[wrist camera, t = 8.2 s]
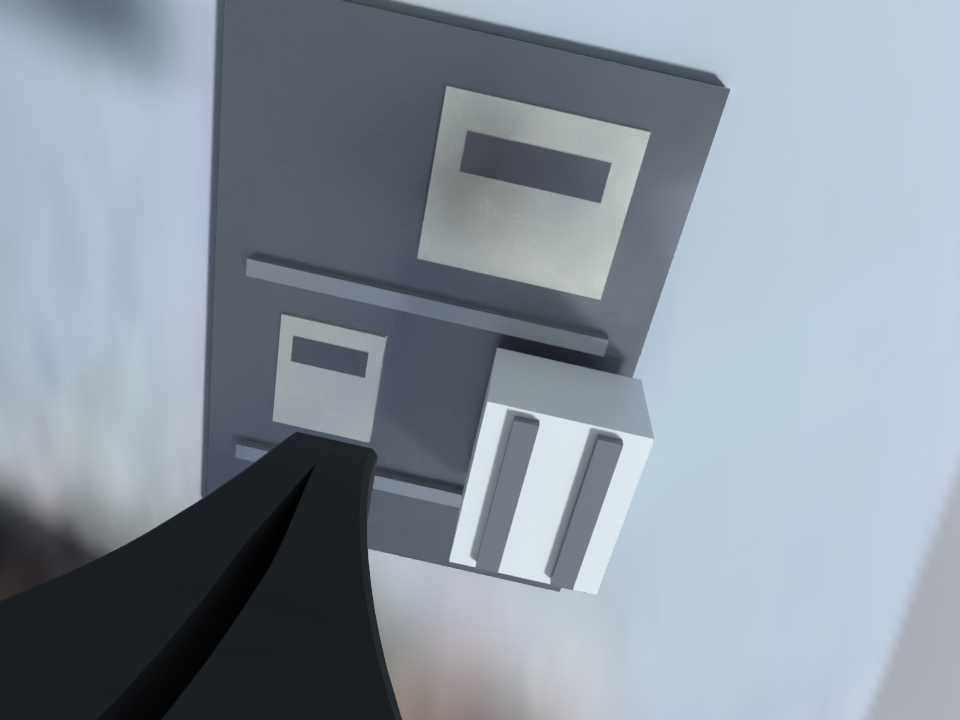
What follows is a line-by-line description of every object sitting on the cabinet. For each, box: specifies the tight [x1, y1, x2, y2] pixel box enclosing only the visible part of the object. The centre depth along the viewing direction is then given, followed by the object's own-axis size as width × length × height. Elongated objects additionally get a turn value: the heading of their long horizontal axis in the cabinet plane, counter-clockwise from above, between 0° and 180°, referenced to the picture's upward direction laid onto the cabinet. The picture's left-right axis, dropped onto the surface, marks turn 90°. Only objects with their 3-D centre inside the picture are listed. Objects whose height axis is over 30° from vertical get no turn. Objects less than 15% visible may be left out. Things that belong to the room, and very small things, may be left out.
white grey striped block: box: [449, 348, 654, 594], centre depth 19 cm, size 5×4×3 cm
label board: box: [206, 0, 730, 592], centre depth 20 cm, size 16×12×1 cm
